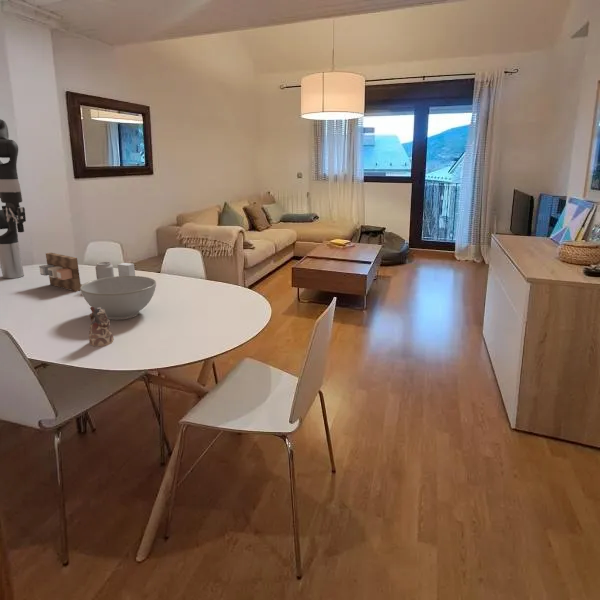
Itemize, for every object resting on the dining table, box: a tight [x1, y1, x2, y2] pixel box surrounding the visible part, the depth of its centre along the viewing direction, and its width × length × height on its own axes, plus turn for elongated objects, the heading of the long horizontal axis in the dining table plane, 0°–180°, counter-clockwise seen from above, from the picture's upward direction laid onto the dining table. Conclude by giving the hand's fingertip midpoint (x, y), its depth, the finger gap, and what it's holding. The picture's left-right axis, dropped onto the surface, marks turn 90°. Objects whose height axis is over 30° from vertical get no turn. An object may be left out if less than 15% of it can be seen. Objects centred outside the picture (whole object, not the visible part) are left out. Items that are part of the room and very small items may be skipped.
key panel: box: [45, 252, 83, 292], centre depth 210 cm, size 21×6×15 cm, turn 57°
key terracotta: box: [56, 268, 73, 280], centre depth 203 cm, size 4×6×4 cm, turn 147°
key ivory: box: [48, 266, 63, 278], centre depth 206 cm, size 4×6×4 cm, turn 147°
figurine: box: [88, 306, 115, 347], centre depth 146 cm, size 7×7×12 cm
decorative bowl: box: [79, 275, 157, 320], centre depth 173 cm, size 27×27×12 cm
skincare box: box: [117, 262, 136, 276], centre depth 207 cm, size 6×4×12 cm
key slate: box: [38, 264, 54, 277], centre depth 210 cm, size 4×6×4 cm, turn 147°
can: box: [95, 261, 115, 280], centre depth 209 cm, size 8×8×12 cm
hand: (16, 231), depth 191 cm, fingers open, 6 cm apart
